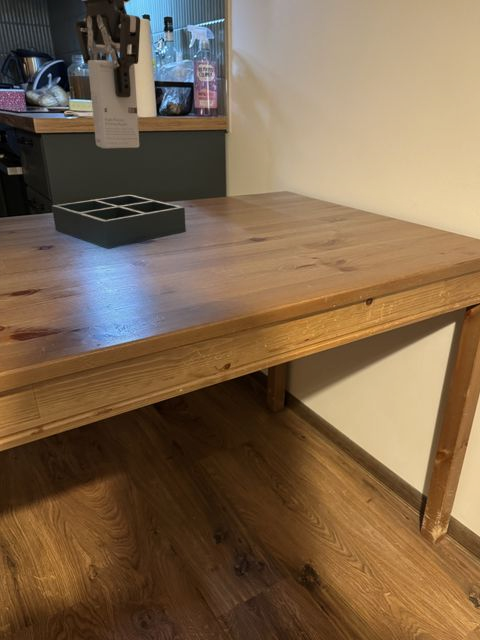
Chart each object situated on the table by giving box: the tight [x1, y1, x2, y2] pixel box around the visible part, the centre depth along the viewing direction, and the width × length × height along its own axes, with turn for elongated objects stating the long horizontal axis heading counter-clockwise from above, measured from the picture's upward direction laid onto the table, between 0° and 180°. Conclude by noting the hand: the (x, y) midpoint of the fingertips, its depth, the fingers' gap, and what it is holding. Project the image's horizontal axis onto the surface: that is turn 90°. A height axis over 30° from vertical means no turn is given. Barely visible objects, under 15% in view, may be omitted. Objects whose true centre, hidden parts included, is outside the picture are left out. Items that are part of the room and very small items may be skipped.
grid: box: [51, 194, 187, 249], centre depth 94 cm, size 17×17×5 cm
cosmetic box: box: [87, 60, 140, 149], centre depth 78 cm, size 6×4×12 cm
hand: (113, 96), depth 77 cm, fingers closed on cosmetic box, 4 cm apart
